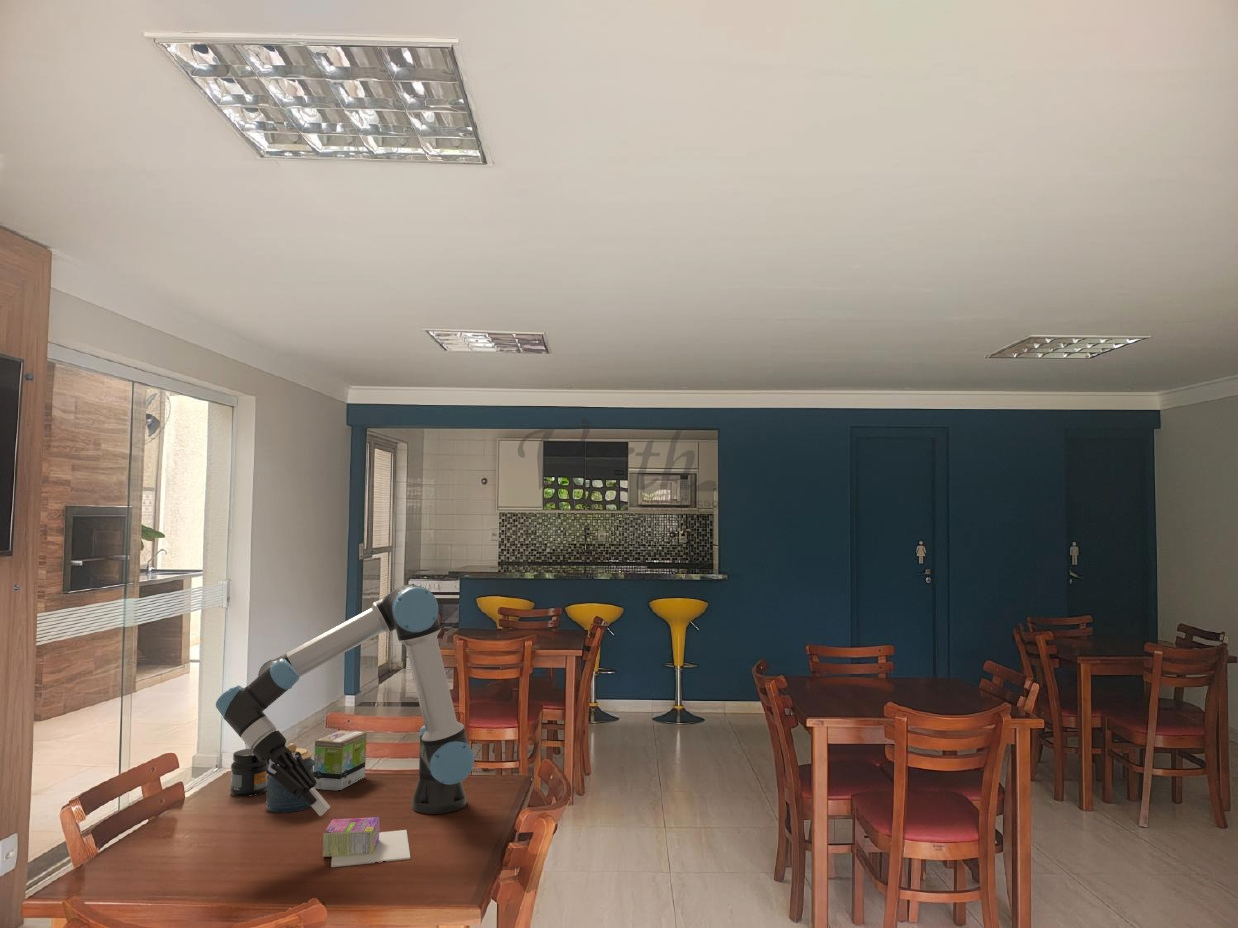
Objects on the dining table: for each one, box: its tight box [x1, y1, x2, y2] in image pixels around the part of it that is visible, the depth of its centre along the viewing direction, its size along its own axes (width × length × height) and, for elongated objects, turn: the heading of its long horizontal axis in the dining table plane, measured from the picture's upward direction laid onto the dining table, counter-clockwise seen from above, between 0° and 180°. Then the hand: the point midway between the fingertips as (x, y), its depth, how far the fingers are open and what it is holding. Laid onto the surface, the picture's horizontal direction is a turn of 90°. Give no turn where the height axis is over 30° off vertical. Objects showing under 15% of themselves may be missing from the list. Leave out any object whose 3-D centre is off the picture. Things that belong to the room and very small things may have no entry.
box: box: [322, 816, 380, 858], centre depth 209 cm, size 10×6×12 cm
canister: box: [265, 742, 315, 814], centre depth 244 cm, size 13×13×18 cm
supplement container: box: [229, 748, 268, 797], centre depth 257 cm, size 10×10×12 cm
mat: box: [330, 829, 411, 868], centre depth 210 cm, size 18×20×1 cm
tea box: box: [313, 730, 368, 791], centre depth 266 cm, size 15×10×15 cm
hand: (325, 811), depth 208 cm, fingers closed
